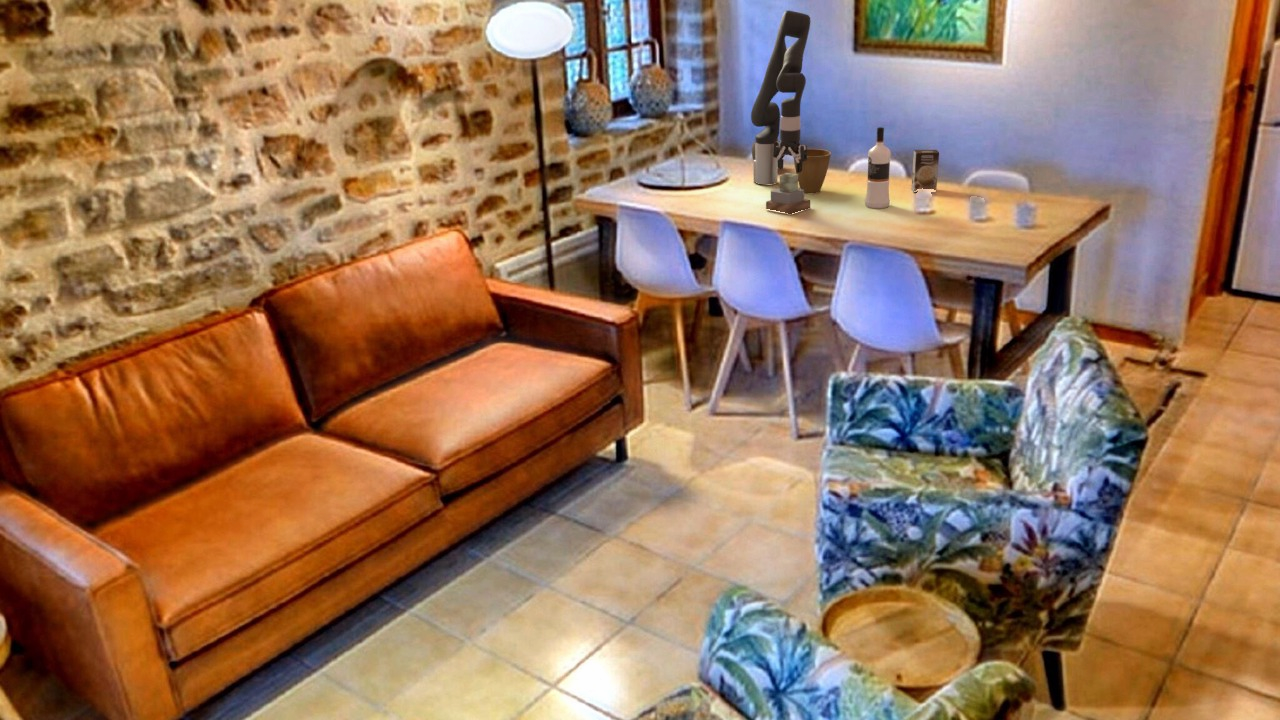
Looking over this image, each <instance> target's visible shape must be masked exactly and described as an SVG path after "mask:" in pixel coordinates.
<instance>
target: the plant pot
mask: <svg viewBox="0 0 1280 720" xmlns="http://www.w3.org/2000/svg"><path fill="white" fill-rule="evenodd" d="M799 151H800V149H799ZM796 155H797V153H796ZM831 155H832V153H831V151H829V150H826V149H821V148H820V149H819V148H818V149H817V148H807V161H804V162H803V163H802V171H801V172H800V173H797V172H796V163H797V161H796V160H795V158H793V164H794V170H795V174H798V187H799V189H803V190H804V194H808V193H813V194H819V193H820V191H821V189H822V187H823V184H824V183H825V179H826V176H827V172H828V169H829V165H830V164H829V163H830V160H831ZM818 192H819V193H818Z"/></svg>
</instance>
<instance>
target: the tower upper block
mask: <svg viewBox="0 0 1280 720" xmlns="http://www.w3.org/2000/svg"><path fill="white" fill-rule="evenodd" d="M804 199H805V193H804V190H803V189H800V188H798V190H796V191H794V192H791V193H790V192H783V191H780V187H779V188H776V189H773V190H771V191H770V200H771V202H776V203H782V204H787V205H791V204H794V203H797V202H800V201H803V200H804Z"/></svg>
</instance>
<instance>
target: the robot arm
mask: <svg viewBox="0 0 1280 720" xmlns="http://www.w3.org/2000/svg"><path fill="white" fill-rule="evenodd" d="M810 28H811V17H810V15H808V14H807V13H806V14H805V13H804V12H803V13H802V12H798V11H795V10H794V11H793V10H785V11H784V12H783V14H782V17H781V19H780V23H779V27H778V29H777V30H778V31H777V35H776V37H775V38H776V39H775V43H774V46H773V49H772V51H771V52H772V53H771V55H770V57H769V61H768V64H767V66H766V70H765V73H764V77H763V80H762V83H761V85H760V89H759V92H758V94H757V95H756V96H757V97H756V98H755V101H754V104H753V105H752V108H751V113H750V121H751V123H752V125H753V126H755V127H759V128H760V127H761V128H762V127H764V129H763V130H762V131H761V132H759V133H757V134H756V136H755V138H754V139H755V141H754V142H755V160H753V183H754V182H757V183H759V184H774V183H777V184H778V178H779V177H778V170H779V171H782V170H783V169H784V159H783V158H784V157H785V156H790V157H791V156H792V157H793V159H794V158H795V160H796V161H797V163H796V170H795V173H796V172H797V173H800V172H801V171H802V163H803V162H804V161H807V149H808V146H807V144H802V145H801V144H800V141H801V130H802V129H801V127H802V125H801V124H802V122H801V121H802V120H801V102H802V96H803V94H804V90H805V88H806V82H807V81H806V80H807V79H806V76H805V75H804V73H803V72H802V70H803V61H804V60H803V59H804V54H805V49H806V46H807V42H808V41H807V40H808V36H809V33H810ZM786 37H790V38H794V39H797V40H796V41H795V42H794V43H793V44H792V45H791V46H789V47H788V48H787V45H786ZM779 92H780V93H784V94H786V93H787V94H789V93H790V94H791V93H792V94H793V93H795V95H794V96H793V97H789V98H785V99H783V100H782V101H781V102H780V103H781V104H780V107H779V105H778V103H777V102H775V101H772V100H773V98H775V96H776V95H777V94H778V93H779ZM780 109H781V110H780ZM780 147H781V148H782V150H781V151H780ZM799 150H800V151H799ZM796 153H797V155H796ZM774 185H775V184H774Z"/></svg>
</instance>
